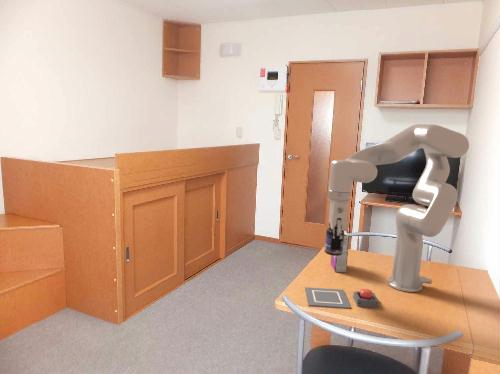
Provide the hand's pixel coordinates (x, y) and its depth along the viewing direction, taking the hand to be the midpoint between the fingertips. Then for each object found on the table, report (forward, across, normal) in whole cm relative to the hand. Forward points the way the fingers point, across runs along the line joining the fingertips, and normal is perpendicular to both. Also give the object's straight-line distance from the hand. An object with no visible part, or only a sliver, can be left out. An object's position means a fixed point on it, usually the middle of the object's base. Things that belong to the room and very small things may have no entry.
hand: (334, 246), depth 133 cm
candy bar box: (+18, +28, -7) cm, 34 cm away
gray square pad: (+18, -3, +1) cm, 18 cm away
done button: (+16, -4, -12) cm, 20 cm away
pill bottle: (+3, 0, 0) cm, 3 cm away
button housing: (+18, -4, -12) cm, 22 cm away
